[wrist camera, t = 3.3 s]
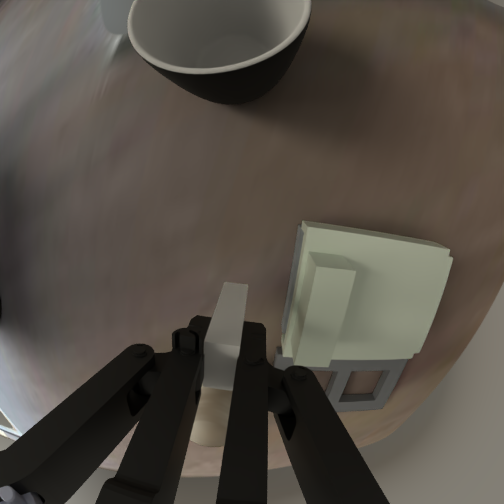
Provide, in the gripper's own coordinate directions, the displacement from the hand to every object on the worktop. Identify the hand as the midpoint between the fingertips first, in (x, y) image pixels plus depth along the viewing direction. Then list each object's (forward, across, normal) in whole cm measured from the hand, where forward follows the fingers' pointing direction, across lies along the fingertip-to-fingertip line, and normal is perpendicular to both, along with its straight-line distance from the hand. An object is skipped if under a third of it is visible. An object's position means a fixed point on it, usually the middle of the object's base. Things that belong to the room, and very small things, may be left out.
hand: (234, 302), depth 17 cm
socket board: (+6, +11, -11) cm, 17 cm away
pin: (+6, -1, -10) cm, 11 cm away
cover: (+4, +10, 0) cm, 11 cm away
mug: (+6, -3, +18) cm, 19 cm away
